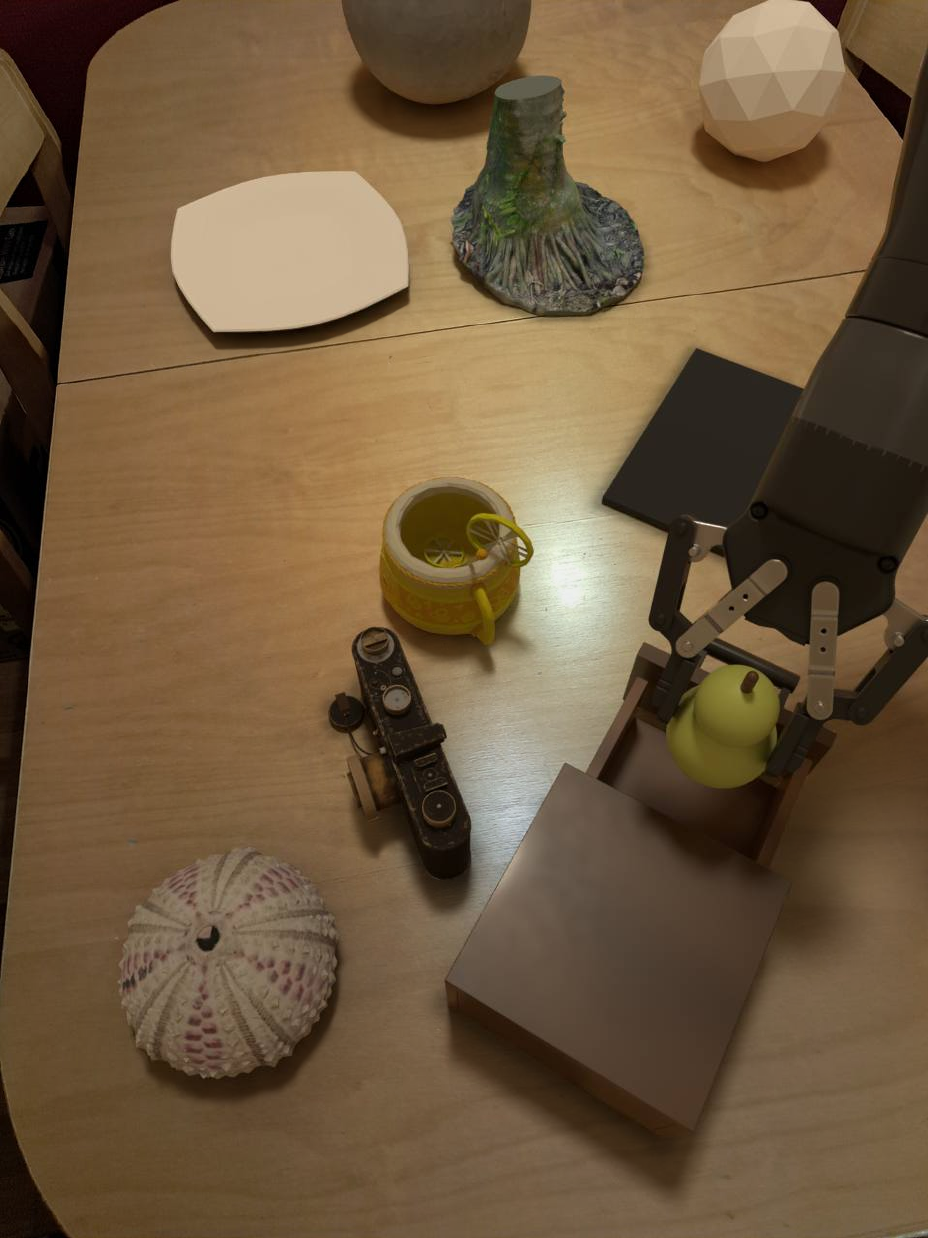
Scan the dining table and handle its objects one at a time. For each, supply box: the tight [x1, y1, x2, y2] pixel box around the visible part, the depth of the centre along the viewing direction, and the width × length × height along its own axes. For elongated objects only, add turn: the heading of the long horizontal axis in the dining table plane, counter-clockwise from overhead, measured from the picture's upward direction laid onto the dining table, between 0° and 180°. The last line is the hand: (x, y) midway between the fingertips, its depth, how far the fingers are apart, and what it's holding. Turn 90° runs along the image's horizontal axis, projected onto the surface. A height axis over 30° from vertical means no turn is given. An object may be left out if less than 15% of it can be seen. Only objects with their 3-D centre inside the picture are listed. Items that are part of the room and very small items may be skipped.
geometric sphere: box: [698, 0, 846, 163], centre depth 98 cm, size 14×15×15 cm
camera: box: [327, 626, 472, 881], centre depth 63 cm, size 16×7×8 cm, turn 21°
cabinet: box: [444, 762, 793, 1139], centre depth 56 cm, size 15×15×9 cm
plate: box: [170, 170, 410, 334], centre depth 93 cm, size 23×23×2 cm
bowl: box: [341, 0, 532, 105], centre depth 103 cm, size 20×20×15 cm
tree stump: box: [450, 75, 645, 317], centre depth 90 cm, size 18×20×18 cm
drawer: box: [585, 636, 838, 869], centre depth 62 cm, size 18×13×7 cm
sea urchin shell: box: [116, 846, 341, 1080], centre depth 56 cm, size 13×14×8 cm
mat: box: [601, 347, 804, 557], centre depth 80 cm, size 16×20×1 cm
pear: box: [665, 664, 780, 789], centre depth 49 cm, size 6×6×11 cm
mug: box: [378, 476, 535, 646], centre depth 69 cm, size 13×11×12 cm
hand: (717, 743), depth 49 cm, fingers closed on pear, 5 cm apart
